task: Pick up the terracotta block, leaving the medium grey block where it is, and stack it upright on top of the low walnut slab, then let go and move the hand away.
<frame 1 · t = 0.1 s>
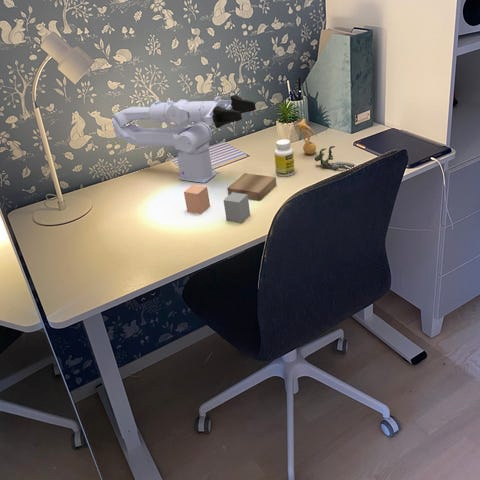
hand: (247, 110, 145), 22 cm above the table, tool horizontal, fingers open, 7 cm apart
walnut slab: (252, 192, 153), on the table
figurine: (307, 155, 170), on the table
supplement bottle: (285, 173, 160), on the table
zombie figurine: (339, 170, 158), on the table
terracotta block: (198, 209, 147), on the table
medium grey block: (238, 218, 140), on the table
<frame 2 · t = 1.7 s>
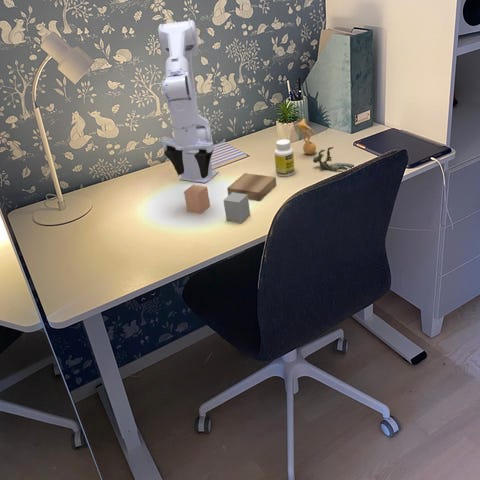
hand: (192, 175, 142), 10 cm above the table, tool pointing down, fingers open, 7 cm apart
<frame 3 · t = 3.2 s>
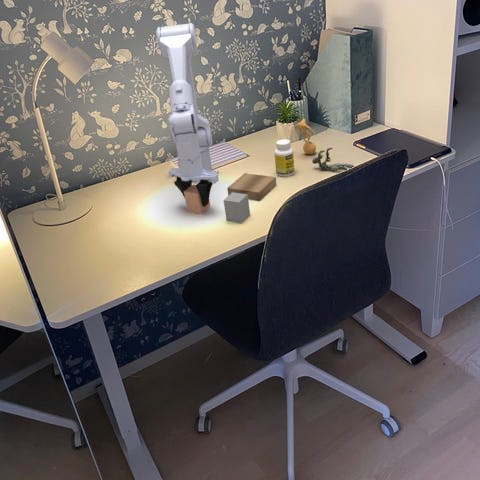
hand: (197, 203, 146), 2 cm above the table, tool pointing down, fingers closed on terracotta block, 4 cm apart
terracotta block: (198, 208, 147), on the table, touching gripper
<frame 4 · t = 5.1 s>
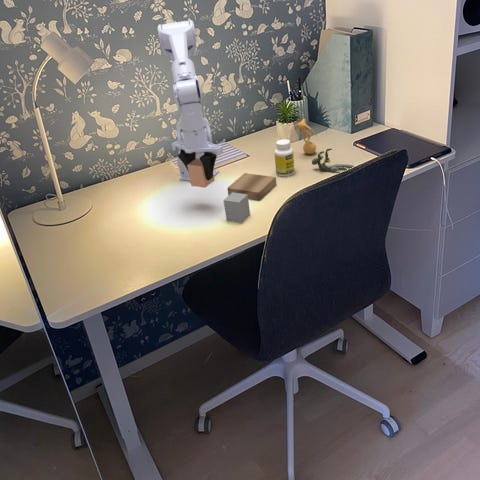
hand: (201, 177, 143), 9 cm above the table, tool pointing down, fingers closed on terracotta block, 4 cm apart
terracotta block: (202, 183, 144), point 7 cm above the table, touching gripper
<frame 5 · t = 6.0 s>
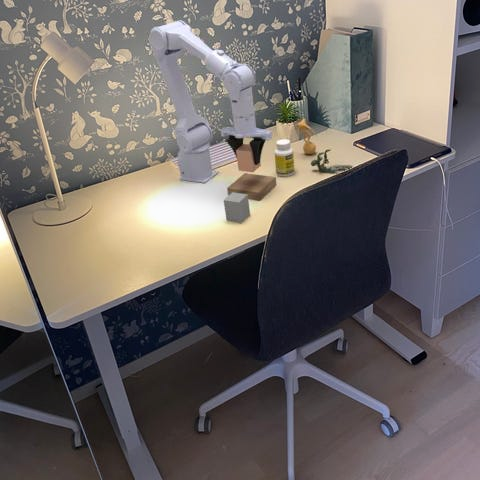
hand: (249, 162, 148), 9 cm above the table, tool pointing down, fingers closed on terracotta block, 4 cm apart
terracotta block: (249, 168, 149), point 7 cm above the table, touching gripper
when the fingers open (6 cm above the table, at t = 7.0 s): terracotta block drops 2 cm, point 2 cm above the table.
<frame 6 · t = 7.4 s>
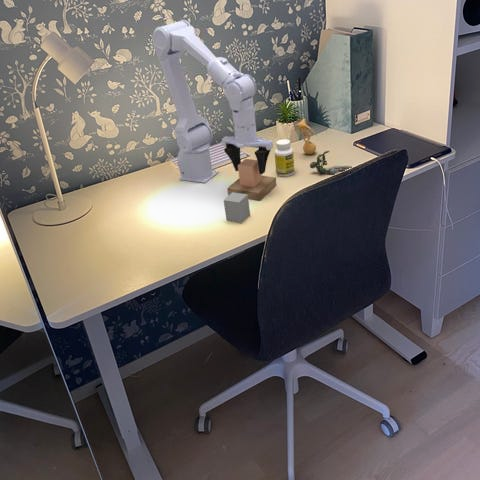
hand: (250, 171, 150), 6 cm above the table, tool pointing down, fingers open, 7 cm apart
terracotta block: (251, 182, 151), point 2 cm above the table
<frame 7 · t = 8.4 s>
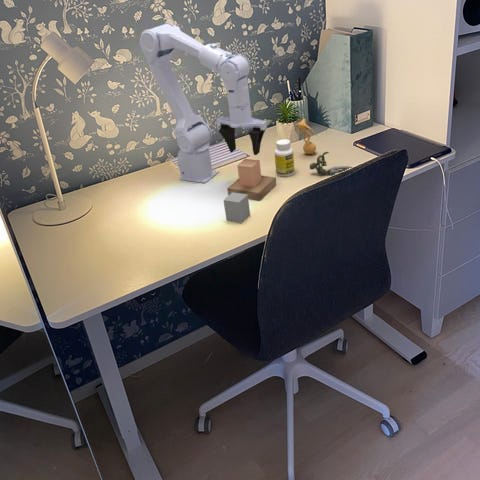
hand: (244, 152, 150), 10 cm above the table, tool pointing down, fingers open, 7 cm apart
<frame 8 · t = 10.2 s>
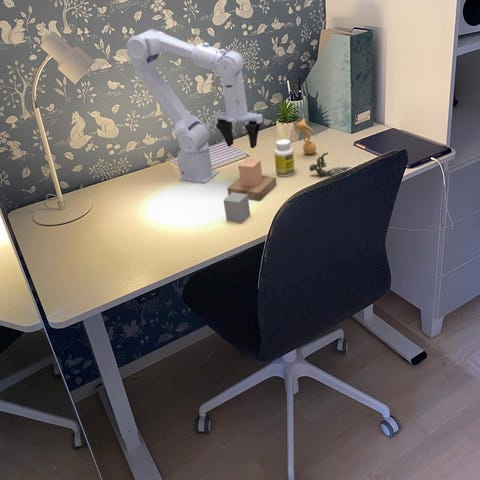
hand: (242, 145, 154), 10 cm above the table, tool pointing down, fingers open, 7 cm apart
walnut slab: (252, 192, 153), on the table, touching terracotta block
terracotta block: (251, 182, 151), point 2 cm above the table, touching walnut slab
at the end: terracotta block 0.2 cm off-centre on the walnut slab, point 3.0 cm above the walnut slab's base; terracotta block tilted 0°; the gripper is holding nothing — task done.
